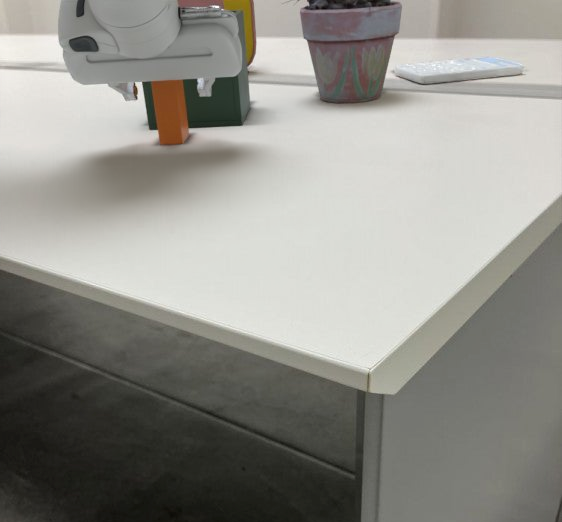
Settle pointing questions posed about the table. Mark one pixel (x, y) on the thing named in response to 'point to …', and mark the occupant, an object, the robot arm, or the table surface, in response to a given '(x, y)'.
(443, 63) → the calculator
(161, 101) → the orange rectangular block
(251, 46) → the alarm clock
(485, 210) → the table surface
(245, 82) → the trash can
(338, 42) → the potted plant
